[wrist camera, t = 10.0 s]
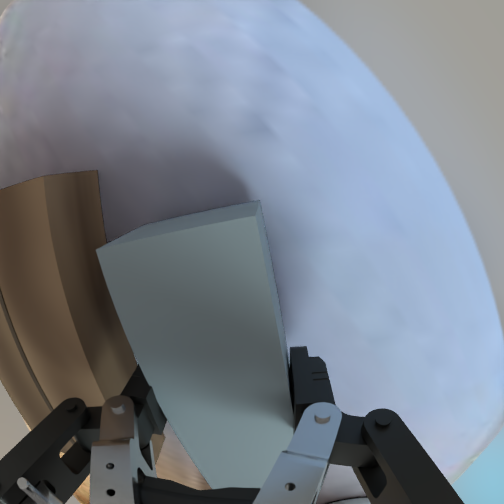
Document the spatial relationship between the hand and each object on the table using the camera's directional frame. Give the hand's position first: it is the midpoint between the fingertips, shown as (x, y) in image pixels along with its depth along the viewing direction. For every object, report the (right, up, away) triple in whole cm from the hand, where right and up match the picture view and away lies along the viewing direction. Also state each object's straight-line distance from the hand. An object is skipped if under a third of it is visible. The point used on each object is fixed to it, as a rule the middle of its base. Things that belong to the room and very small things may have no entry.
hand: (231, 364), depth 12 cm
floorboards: (-11, 0, +3) cm, 11 cm away
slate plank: (0, 0, +1) cm, 1 cm away
